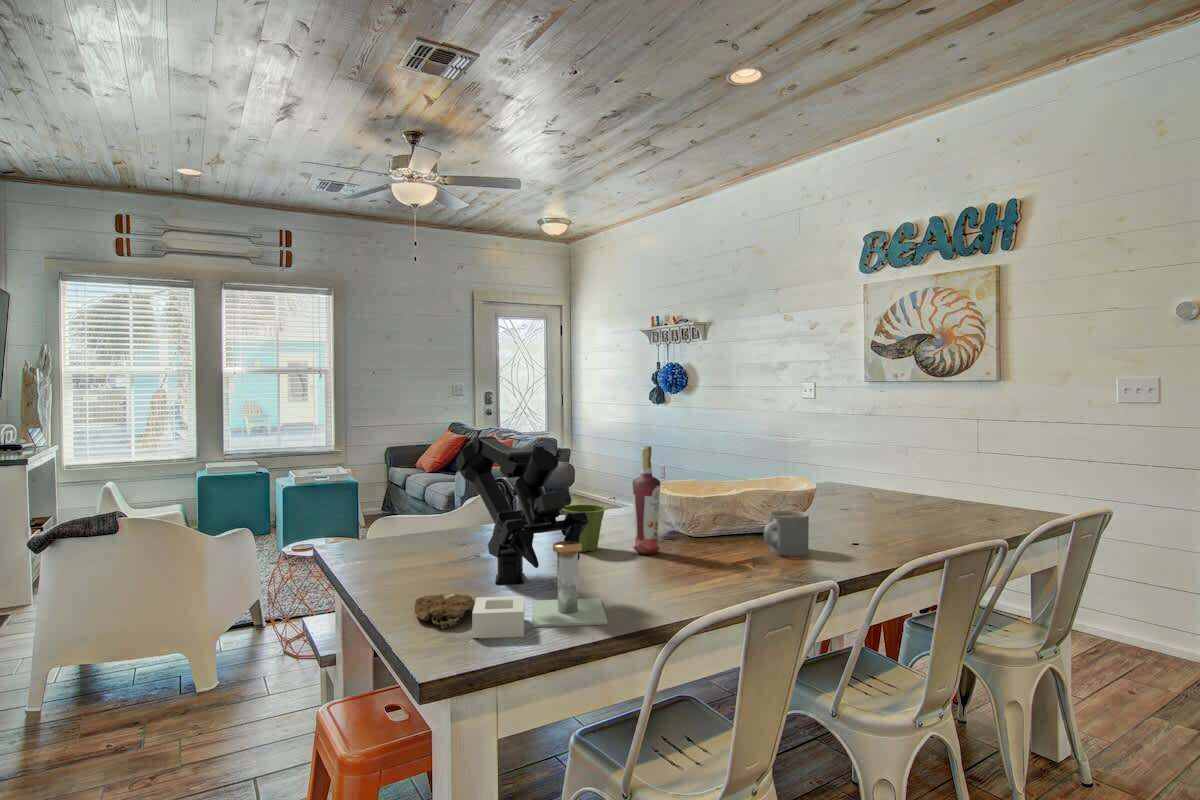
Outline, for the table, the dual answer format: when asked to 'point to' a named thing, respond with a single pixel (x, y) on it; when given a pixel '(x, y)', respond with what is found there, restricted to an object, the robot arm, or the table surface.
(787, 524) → the coffee mug
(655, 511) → the liquor
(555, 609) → the sage mat
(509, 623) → the collar
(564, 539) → the robot arm
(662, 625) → the table surface
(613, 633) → the table surface
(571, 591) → the glass jar with lid
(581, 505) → the plant pot
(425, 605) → the decorative rock
